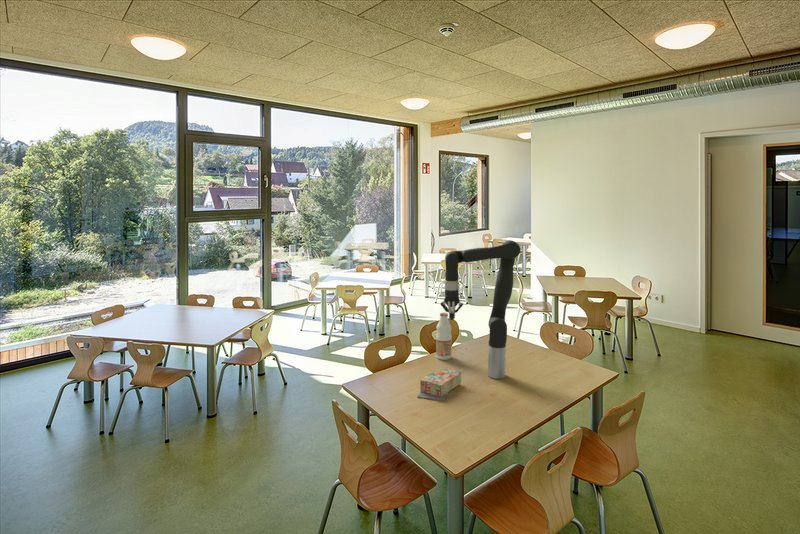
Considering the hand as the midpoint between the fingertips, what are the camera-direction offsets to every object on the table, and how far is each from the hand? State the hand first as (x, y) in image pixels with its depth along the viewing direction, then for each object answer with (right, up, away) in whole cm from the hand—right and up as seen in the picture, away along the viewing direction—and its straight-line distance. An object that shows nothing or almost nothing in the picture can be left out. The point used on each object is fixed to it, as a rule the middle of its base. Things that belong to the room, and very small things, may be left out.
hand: (451, 319), depth 252 cm
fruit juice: (-1, -28, +33) cm, 43 cm away
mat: (-10, -34, -16) cm, 39 cm away
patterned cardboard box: (-2, -31, -18) cm, 36 cm away
